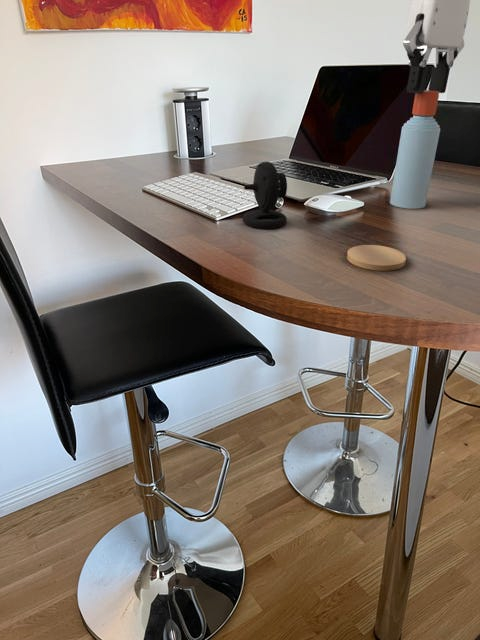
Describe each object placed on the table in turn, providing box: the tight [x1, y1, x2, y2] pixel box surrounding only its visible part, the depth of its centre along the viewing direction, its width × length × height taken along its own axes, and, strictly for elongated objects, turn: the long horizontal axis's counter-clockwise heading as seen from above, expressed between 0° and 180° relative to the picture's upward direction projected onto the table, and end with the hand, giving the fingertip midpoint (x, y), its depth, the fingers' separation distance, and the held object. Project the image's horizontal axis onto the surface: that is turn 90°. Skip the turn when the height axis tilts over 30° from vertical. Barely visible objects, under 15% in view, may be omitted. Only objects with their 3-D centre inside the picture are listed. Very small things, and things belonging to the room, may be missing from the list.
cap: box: [411, 89, 440, 117], centre depth 88 cm, size 4×4×4 cm
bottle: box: [389, 114, 441, 210], centre depth 92 cm, size 7×7×20 cm
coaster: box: [346, 244, 407, 272], centre depth 70 cm, size 8×8×1 cm
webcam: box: [242, 161, 288, 230], centre depth 82 cm, size 8×8×10 cm
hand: (425, 91), depth 87 cm, fingers open, 5 cm apart
